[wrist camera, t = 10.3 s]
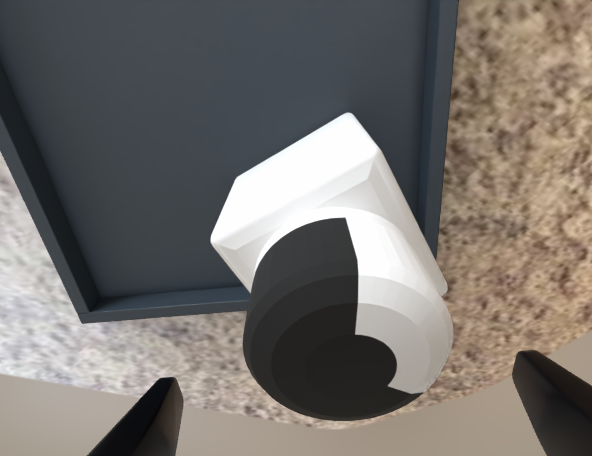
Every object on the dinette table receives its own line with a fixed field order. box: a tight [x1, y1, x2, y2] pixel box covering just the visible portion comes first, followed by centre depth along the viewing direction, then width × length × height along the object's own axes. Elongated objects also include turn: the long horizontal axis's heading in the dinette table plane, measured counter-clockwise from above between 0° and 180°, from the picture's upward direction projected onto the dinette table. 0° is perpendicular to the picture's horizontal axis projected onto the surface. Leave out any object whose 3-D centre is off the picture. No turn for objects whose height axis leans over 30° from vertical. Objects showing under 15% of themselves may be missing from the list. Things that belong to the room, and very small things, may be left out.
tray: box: [0, 0, 459, 324], centre depth 17 cm, size 26×22×2 cm
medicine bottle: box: [211, 113, 453, 421], centre depth 15 cm, size 7×7×12 cm
